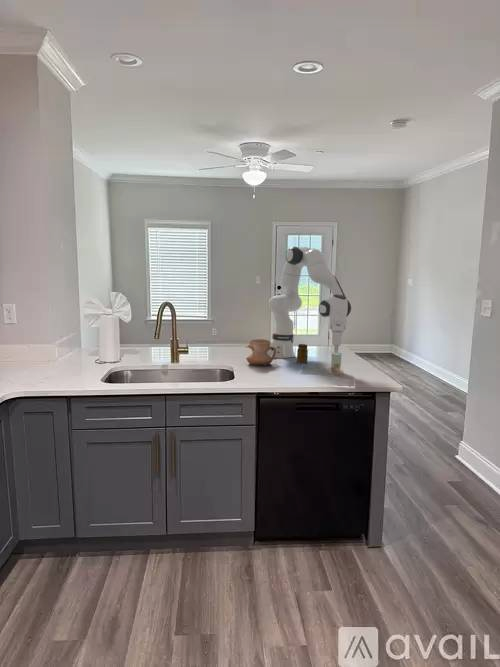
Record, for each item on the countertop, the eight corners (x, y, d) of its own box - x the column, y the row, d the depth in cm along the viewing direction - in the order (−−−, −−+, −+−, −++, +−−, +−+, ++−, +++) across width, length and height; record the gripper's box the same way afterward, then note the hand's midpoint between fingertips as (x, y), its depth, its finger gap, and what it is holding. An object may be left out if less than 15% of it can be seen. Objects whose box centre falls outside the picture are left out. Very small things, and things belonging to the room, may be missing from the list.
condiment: (303, 363, 258) (304, 343, 256) (311, 366, 250) (312, 345, 248) (293, 364, 255) (294, 344, 253) (301, 367, 247) (302, 346, 245)
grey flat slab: (300, 375, 229) (300, 373, 228) (303, 368, 243) (303, 366, 243) (343, 378, 224) (343, 376, 224) (342, 371, 239) (343, 369, 239)
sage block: (331, 363, 231) (331, 354, 230) (331, 361, 235) (331, 352, 235) (340, 364, 230) (341, 354, 229) (340, 362, 234) (341, 353, 234)
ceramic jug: (243, 366, 245) (244, 342, 243) (246, 361, 259) (247, 337, 257) (275, 368, 243) (275, 343, 241) (276, 362, 257) (277, 339, 255)
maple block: (330, 372, 231) (331, 363, 231) (330, 370, 236) (331, 361, 235) (340, 373, 230) (340, 364, 230) (340, 371, 235) (340, 362, 234)
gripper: (332, 322, 240) (330, 346, 242) (331, 328, 220) (329, 354, 223) (343, 323, 239) (341, 347, 241) (344, 328, 219) (342, 355, 221)
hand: (336, 351), depth 232 cm, fingers open, 8 cm apart
